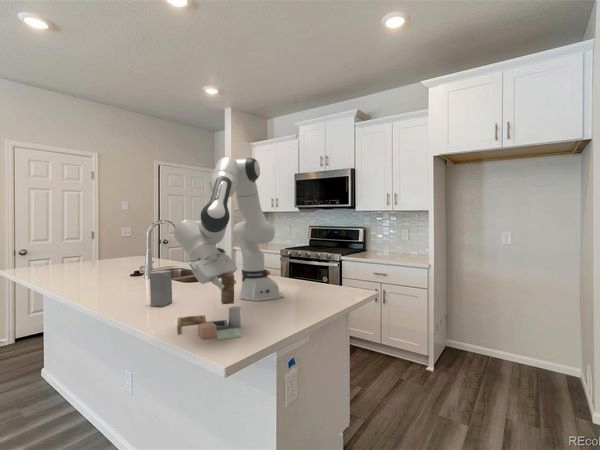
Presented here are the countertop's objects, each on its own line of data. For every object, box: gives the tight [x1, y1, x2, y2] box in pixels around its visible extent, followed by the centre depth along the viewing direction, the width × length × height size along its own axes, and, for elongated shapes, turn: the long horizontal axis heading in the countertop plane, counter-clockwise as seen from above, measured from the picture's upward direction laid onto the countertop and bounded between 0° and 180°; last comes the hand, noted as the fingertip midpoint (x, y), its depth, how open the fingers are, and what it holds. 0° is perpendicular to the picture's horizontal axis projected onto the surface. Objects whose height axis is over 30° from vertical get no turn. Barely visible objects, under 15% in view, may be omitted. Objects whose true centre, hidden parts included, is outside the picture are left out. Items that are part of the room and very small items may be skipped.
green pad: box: [216, 327, 242, 341], centre depth 117 cm, size 8×8×1 cm
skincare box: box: [149, 270, 173, 307], centre depth 155 cm, size 8×7×16 cm
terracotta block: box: [197, 321, 217, 340], centre depth 116 cm, size 5×5×4 cm
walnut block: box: [220, 273, 235, 305], centre depth 116 cm, size 4×4×10 cm
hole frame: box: [206, 319, 230, 330], centre depth 124 cm, size 8×8×2 cm
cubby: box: [176, 314, 207, 335], centre depth 123 cm, size 10×10×3 cm
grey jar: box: [228, 305, 241, 329], centre depth 126 cm, size 4×4×7 cm
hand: (229, 286), depth 116 cm, fingers closed on walnut block, 6 cm apart
